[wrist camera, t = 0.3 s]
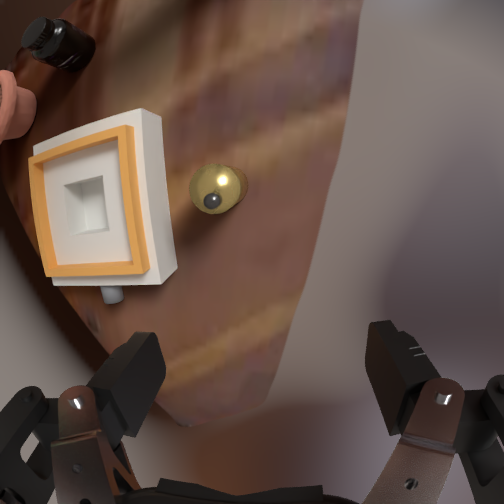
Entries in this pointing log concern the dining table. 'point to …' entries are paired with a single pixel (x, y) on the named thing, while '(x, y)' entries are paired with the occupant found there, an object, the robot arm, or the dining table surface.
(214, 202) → the oil can
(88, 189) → the white box with knob
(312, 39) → the dining table surface
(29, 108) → the decorative flower
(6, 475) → the robot arm
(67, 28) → the supplement bottle
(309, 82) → the dining table surface
